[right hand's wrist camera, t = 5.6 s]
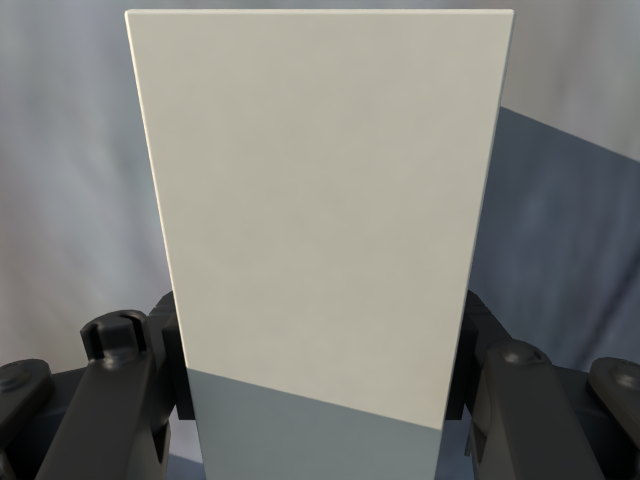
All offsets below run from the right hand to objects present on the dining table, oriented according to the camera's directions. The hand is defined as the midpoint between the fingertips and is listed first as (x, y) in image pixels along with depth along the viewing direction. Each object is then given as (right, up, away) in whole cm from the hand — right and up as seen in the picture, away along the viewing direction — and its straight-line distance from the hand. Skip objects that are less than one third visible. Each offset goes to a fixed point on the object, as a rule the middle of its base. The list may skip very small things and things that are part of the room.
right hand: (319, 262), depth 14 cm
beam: (0, -18, +8) cm, 20 cm away
